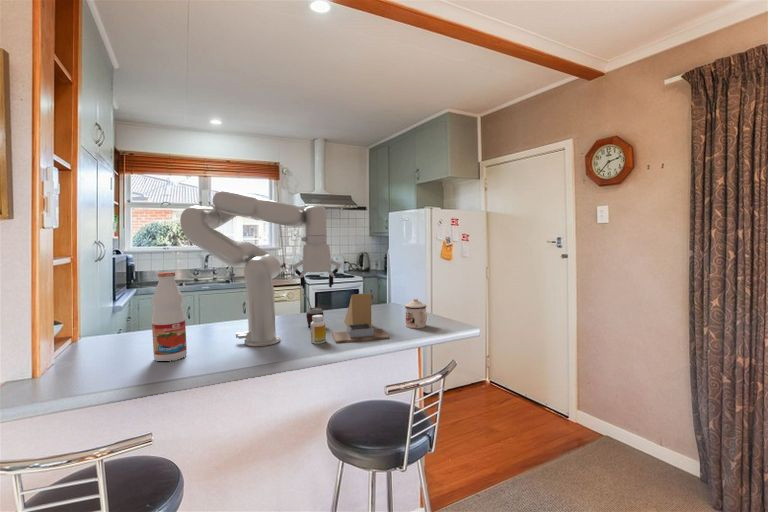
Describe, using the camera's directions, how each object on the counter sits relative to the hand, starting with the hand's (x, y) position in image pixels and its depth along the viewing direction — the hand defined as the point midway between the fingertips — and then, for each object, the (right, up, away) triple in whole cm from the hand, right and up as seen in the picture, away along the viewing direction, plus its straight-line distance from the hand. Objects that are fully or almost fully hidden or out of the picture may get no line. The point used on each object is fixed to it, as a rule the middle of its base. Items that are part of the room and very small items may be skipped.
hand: (317, 287), depth 138 cm
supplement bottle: (0, -20, +1) cm, 20 cm away
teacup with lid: (+39, -19, +21) cm, 48 cm away
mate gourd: (-5, -19, +22) cm, 30 cm away
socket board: (+15, -20, +7) cm, 26 cm away
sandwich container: (+13, -19, +25) cm, 34 cm away
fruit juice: (-45, -22, -14) cm, 52 cm away
